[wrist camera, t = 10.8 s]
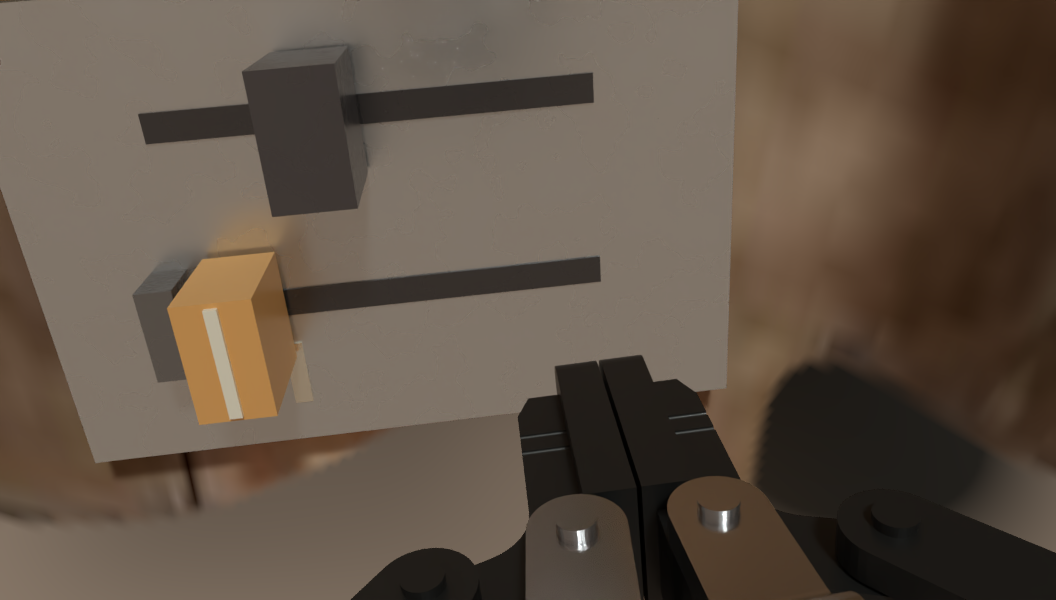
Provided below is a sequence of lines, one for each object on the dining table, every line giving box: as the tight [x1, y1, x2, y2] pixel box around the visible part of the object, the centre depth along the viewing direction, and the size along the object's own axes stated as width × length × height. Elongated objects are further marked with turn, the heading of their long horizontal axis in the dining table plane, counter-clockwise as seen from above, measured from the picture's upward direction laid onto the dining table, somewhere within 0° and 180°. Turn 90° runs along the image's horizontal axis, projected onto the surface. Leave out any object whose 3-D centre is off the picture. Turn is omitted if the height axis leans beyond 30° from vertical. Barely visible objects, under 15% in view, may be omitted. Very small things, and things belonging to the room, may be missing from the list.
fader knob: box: [167, 252, 297, 425], centre depth 33 cm, size 3×5×5 cm, turn 4°
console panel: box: [0, 0, 738, 463], centre depth 34 cm, size 30×20×7 cm, turn 94°
